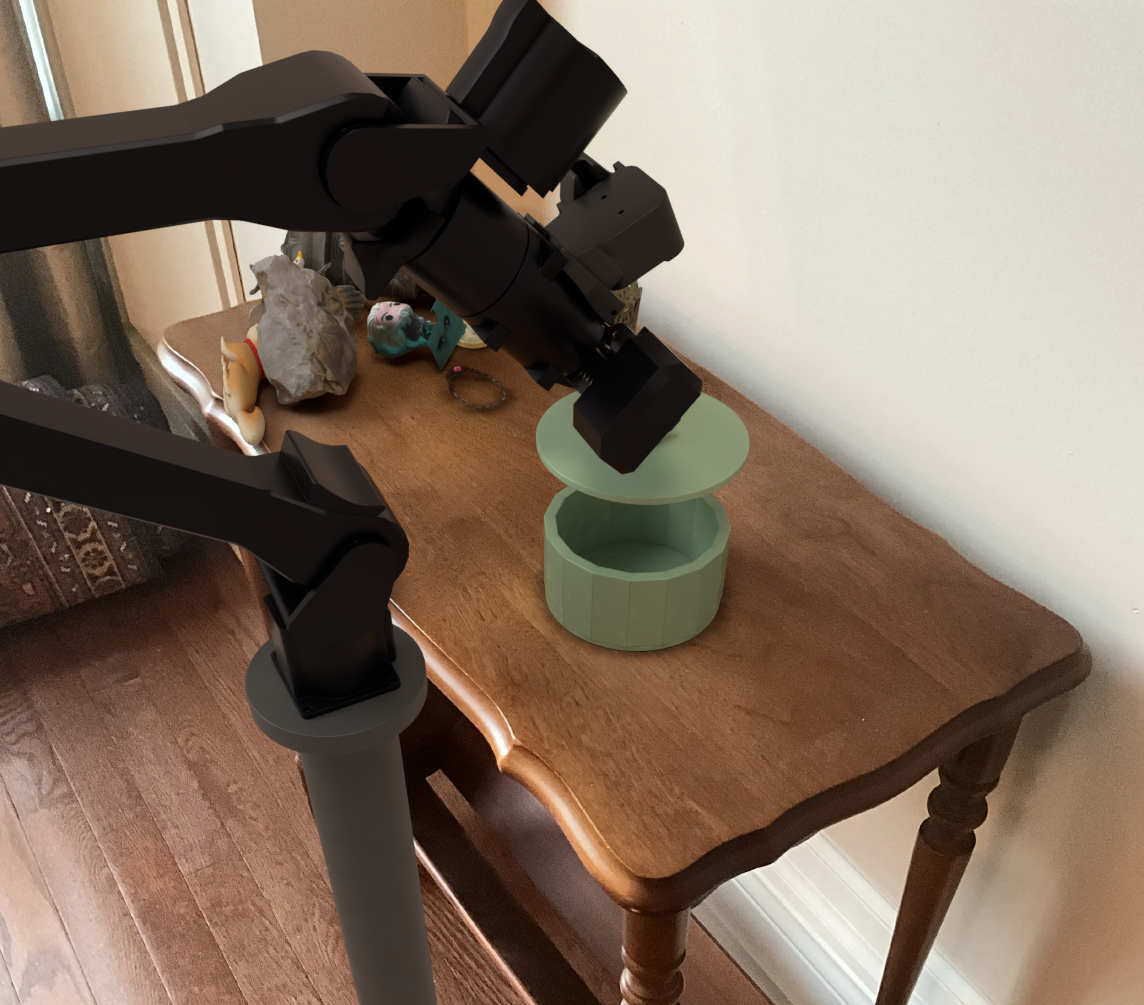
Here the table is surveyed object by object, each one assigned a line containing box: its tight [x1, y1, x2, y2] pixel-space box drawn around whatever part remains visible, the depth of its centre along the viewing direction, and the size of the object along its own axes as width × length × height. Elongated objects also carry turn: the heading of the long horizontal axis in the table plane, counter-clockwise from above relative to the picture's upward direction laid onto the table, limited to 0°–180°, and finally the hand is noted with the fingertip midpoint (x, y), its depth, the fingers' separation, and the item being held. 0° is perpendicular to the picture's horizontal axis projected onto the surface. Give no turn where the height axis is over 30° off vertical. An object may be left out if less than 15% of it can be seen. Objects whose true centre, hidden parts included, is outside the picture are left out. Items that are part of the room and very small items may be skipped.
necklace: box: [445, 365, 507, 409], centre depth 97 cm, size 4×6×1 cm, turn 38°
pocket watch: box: [456, 320, 488, 349], centre depth 104 cm, size 6×4×1 cm, turn 14°
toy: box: [219, 323, 268, 446], centre depth 95 cm, size 3×17×5 cm
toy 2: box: [280, 230, 433, 300], centre depth 104 cm, size 8×6×15 cm
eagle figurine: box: [247, 251, 366, 327], centre depth 102 cm, size 8×7×9 cm
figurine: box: [366, 298, 467, 371], centre depth 98 cm, size 12×9×8 cm
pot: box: [543, 485, 732, 652], centre depth 78 cm, size 12×12×6 cm
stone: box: [250, 253, 359, 405], centre depth 94 cm, size 11×7×10 cm
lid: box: [535, 390, 751, 505], centre depth 69 cm, size 13×13×6 cm
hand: (664, 413), depth 70 cm, fingers closed on lid, 2 cm apart
